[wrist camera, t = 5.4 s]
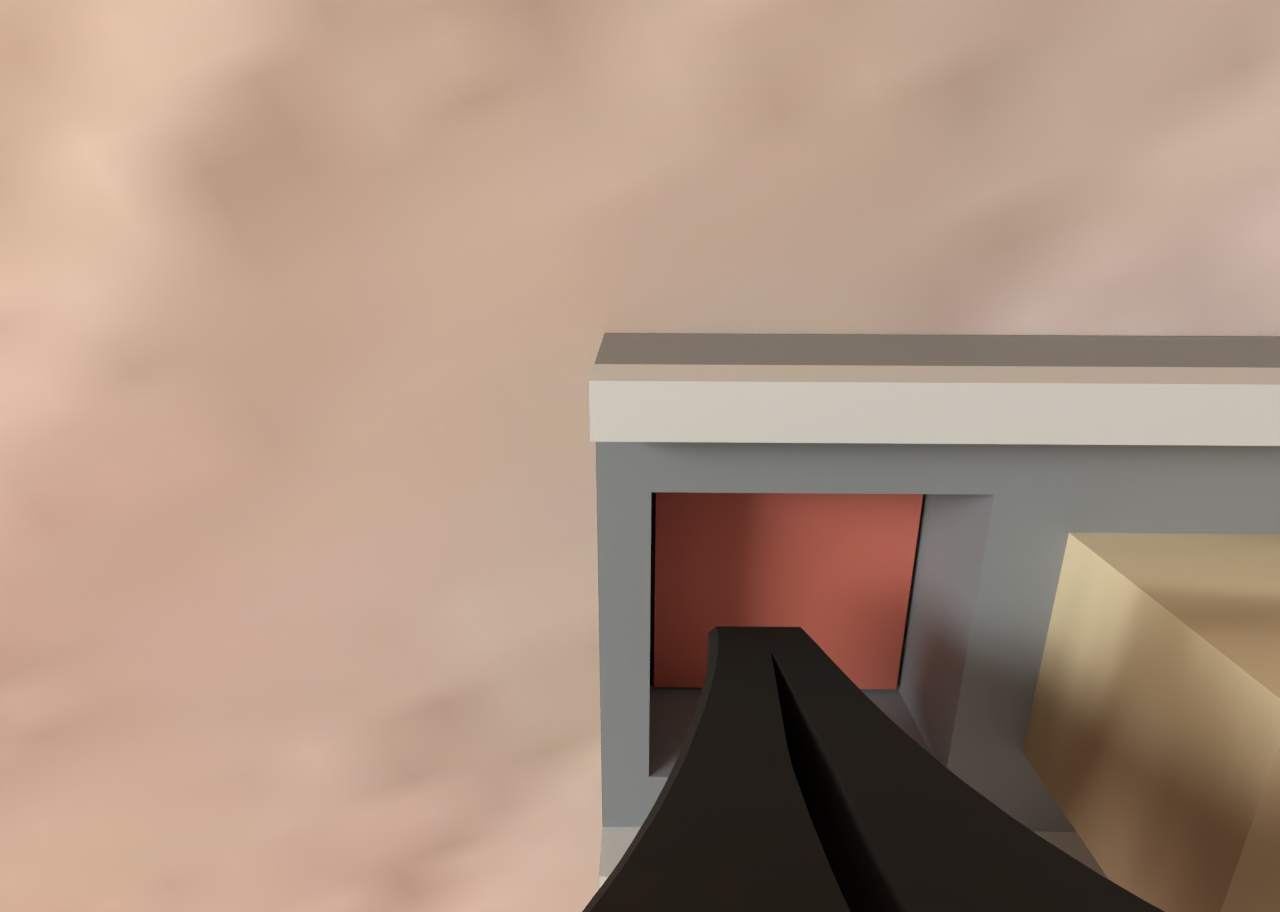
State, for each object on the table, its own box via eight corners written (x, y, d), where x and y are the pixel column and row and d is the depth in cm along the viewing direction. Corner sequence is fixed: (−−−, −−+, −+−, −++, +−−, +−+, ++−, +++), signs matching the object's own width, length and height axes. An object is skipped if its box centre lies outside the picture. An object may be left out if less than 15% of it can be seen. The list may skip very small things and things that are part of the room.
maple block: (1264, 754, 12) (1542, 1003, 8) (1021, 751, 12) (1189, 998, 8) (1341, 534, 11) (1711, 713, 7) (1068, 532, 11) (1293, 709, 7)
